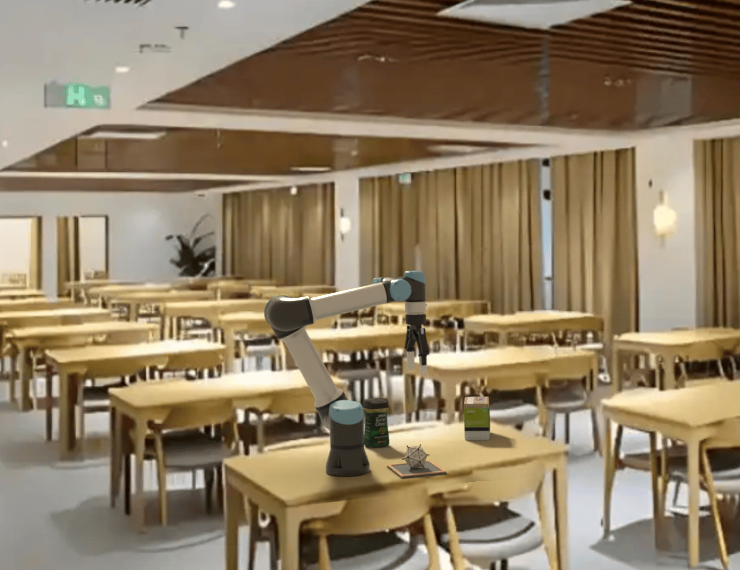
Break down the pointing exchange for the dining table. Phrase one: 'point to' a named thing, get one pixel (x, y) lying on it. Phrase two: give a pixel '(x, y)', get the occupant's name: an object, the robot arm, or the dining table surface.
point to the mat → (416, 470)
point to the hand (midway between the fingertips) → (416, 371)
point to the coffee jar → (376, 422)
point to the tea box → (477, 418)
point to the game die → (415, 457)
